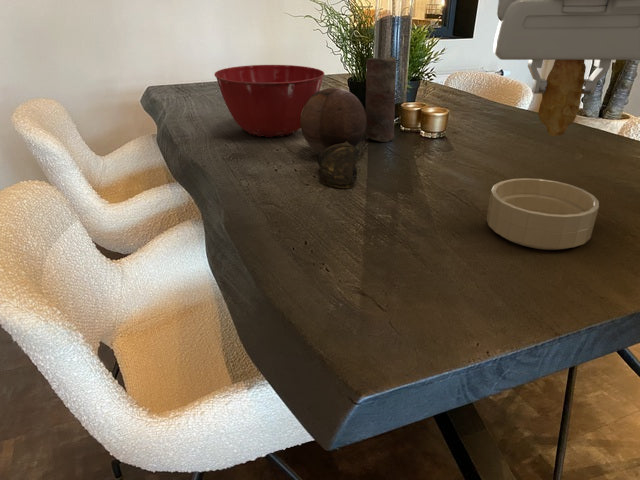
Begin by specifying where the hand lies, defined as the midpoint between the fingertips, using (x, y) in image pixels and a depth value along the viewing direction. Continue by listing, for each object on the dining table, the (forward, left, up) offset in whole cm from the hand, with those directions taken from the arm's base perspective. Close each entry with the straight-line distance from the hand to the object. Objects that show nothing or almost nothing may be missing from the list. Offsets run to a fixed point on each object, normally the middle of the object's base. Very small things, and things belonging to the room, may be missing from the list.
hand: (562, 93), depth 69 cm
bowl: (0, 0, -22) cm, 22 cm away
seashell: (+35, -21, -22) cm, 46 cm away
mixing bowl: (+57, -53, -22) cm, 80 cm away
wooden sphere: (+37, -35, -22) cm, 56 cm away
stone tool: (0, 0, -6) cm, 6 cm away
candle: (+28, -49, -22) cm, 60 cm away
